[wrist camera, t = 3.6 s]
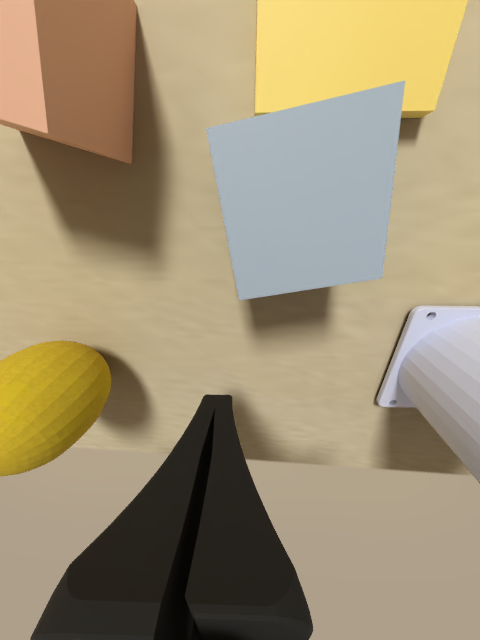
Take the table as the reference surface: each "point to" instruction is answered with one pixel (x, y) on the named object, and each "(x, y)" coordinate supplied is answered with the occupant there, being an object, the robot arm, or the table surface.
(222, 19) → the table surface
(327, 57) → the tile
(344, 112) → the slate block
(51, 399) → the lemon
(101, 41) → the terracotta block
